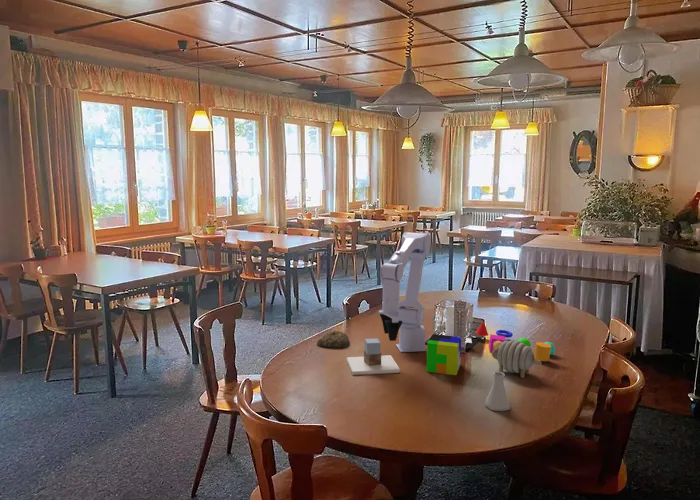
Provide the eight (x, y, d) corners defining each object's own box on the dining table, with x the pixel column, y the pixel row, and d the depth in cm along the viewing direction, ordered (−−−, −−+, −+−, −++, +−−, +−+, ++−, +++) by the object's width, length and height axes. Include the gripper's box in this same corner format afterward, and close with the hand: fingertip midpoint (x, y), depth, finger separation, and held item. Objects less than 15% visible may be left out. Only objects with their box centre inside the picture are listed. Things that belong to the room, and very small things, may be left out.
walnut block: (375, 359, 185) (375, 348, 184) (381, 364, 181) (381, 353, 180) (363, 361, 183) (364, 350, 182) (369, 366, 179) (369, 354, 178)
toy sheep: (496, 363, 186) (497, 332, 184) (545, 374, 177) (547, 342, 175) (485, 372, 178) (486, 341, 176) (536, 385, 168) (538, 351, 166)
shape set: (561, 372, 182) (564, 352, 181) (458, 357, 187) (461, 338, 186) (544, 344, 211) (546, 326, 210) (455, 331, 216) (457, 314, 215)
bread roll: (346, 350, 198) (346, 337, 197) (314, 347, 201) (314, 335, 200) (353, 339, 211) (353, 327, 210) (322, 336, 213) (323, 325, 212)
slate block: (377, 349, 184) (377, 338, 183) (380, 353, 179) (380, 342, 179) (364, 349, 183) (364, 338, 182) (367, 354, 179) (367, 343, 178)
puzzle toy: (460, 364, 184) (461, 337, 183) (456, 375, 175) (457, 346, 173) (431, 361, 188) (432, 334, 186) (426, 371, 178) (427, 343, 177)
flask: (481, 401, 156) (482, 369, 155) (504, 400, 157) (506, 368, 155) (489, 412, 149) (491, 379, 148) (514, 411, 150) (516, 378, 148)
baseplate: (390, 358, 190) (390, 355, 189) (399, 372, 177) (399, 369, 177) (346, 360, 187) (346, 357, 187) (352, 375, 174) (352, 371, 174)
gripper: (375, 293, 185) (374, 330, 188) (384, 304, 171) (383, 344, 174) (394, 292, 187) (393, 329, 189) (405, 303, 172) (404, 343, 175)
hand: (390, 336), depth 181 cm, fingers open, 7 cm apart
